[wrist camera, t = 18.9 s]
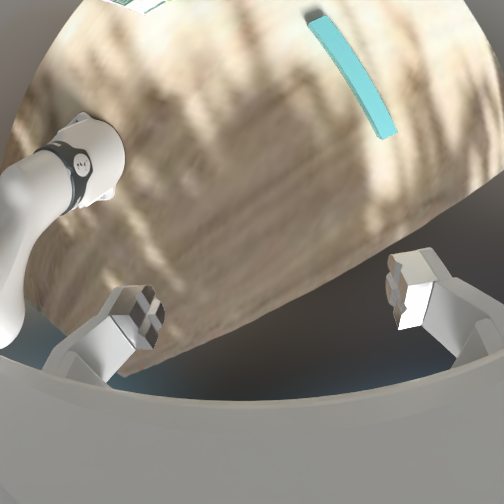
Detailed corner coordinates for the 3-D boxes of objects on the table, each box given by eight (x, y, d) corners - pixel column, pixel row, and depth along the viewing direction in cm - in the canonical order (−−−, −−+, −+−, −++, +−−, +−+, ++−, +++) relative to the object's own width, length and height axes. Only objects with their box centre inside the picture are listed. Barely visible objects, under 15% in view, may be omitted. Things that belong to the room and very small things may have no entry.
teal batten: (390, 128, 37) (397, 132, 35) (376, 136, 38) (382, 139, 36) (323, 19, 28) (326, 14, 26) (307, 26, 29) (309, 22, 27)
